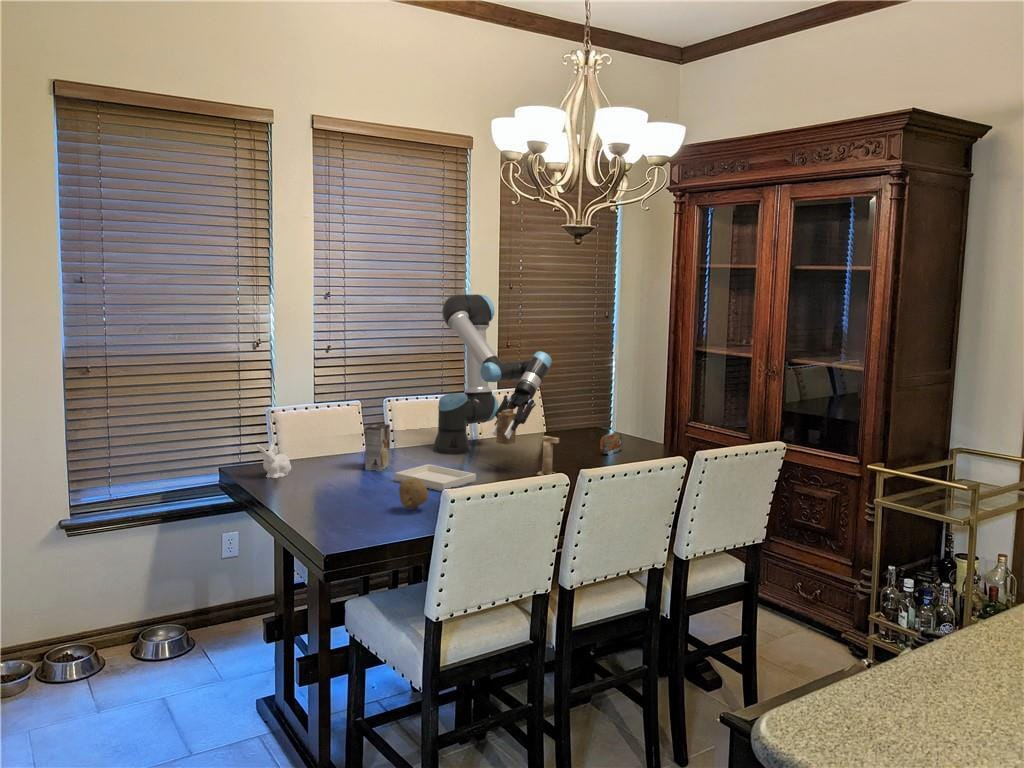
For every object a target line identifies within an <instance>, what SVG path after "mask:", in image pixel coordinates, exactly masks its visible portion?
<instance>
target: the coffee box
mask: <svg viewBox="0 0 1024 768" xmlns="http://www.w3.org/2000/svg"><path fill="white" fill-rule="evenodd" d="M390 428H391V427H390V424H386V423H385V424H384V423H373V424H371V425H368V426H366V427H365V432H364V433H365V437H364V439H365V442H364V443H365V449H364V450H365V455H364V458H365V461H364V462H365V464H364V469H365V471H371V470H376V471H375V472H382V471H384V470H385V469H387V468H388V467H390V443H391V442H390V434H391V433H390V431H391V430H390ZM386 467H387V468H386ZM383 469H384V470H383Z"/></svg>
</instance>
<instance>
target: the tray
mask: <svg viewBox="0 0 1024 768" xmlns="http://www.w3.org/2000/svg"><path fill="white" fill-rule="evenodd" d="M411 478H417V479H419V480H421V481H422V482H423V484H424V485H425V487H426V489H427V488H430V489H429V490H431V489H434V490H433V491H436V490H437V491H436V492H441V491H442V490H443V489H445V488H451V487H459V486H462V487H465V486H464V484H466V483H470V482H475V481H476V482H477V474H476V473H473V472H469V471H463V470H459V469H453V468H449V467H443V466H439V465H434V464H430V463H429V464H428V463H427V464H424V465H420V466H416V467H412V468H407V469H405V470H400V471H396V472H394V482H396V481H398V482H397V483H401V482H403V481H405V480H406V479H411ZM476 482H475V483H476ZM459 488H460V487H459ZM441 493H442V492H441Z"/></svg>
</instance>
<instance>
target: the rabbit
mask: <svg viewBox="0 0 1024 768" xmlns="http://www.w3.org/2000/svg"><path fill="white" fill-rule="evenodd" d="M256 446H257V450H258V452H261V453H262V454H263V459H262V460H263V465H262V466H263V469H264V470H265V472H267V474H266V476H265V478H266V477H267V478H266V479H274V478H275V479H278V478H284V477H286V476H288V475H289V473H290V472H291V469H292V465H291V462H290V459H289V457H288V456H287V454H284V453H277V454H275V452H274V451H273V450H275V449H274V448H275V446H274V444H273V441H270V445H269V446H268V451H267V450H266V449H265V448H264V447H262V446H260V444H258V443H257V444H256ZM270 477H271V478H270Z"/></svg>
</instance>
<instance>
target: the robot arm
mask: <svg viewBox="0 0 1024 768" xmlns="http://www.w3.org/2000/svg"><path fill="white" fill-rule="evenodd" d="M441 312H442V313H441V315H442V318H443V321H444V322H445V324H446V326H447V328H449V329H450V330H452V331H454V332H455V333H456V334H457V336H458V337H459V339H460V341H461V342H462V343H463V344H464V346H465V349H466V370H467V371H466V373H467V374H466V375H467V388H466V389H465V391H464V393H462V392H456V393H447V394H444V395H442V396H440V398H439V400H438V407H437V409H438V423H437V424H438V425H437V427H438V428H437V430H438V431H437V434H436V437H435V440H434V443H433V451H434V452H435V453H439V454H443V453H444V454H445V455H448V454H449V455H461V454H460V453H463V454H466V452H467V453H470V451H471V445H470V442H469V438H468V434H467V425H470V424H479V423H480V424H485V423H486V422H487V423H488V422H491V421H493V420H494V419H495V418H496V419H497V420H495V423H494V427H493V429H492V430H491V433H492V434H493V435H494V437H497V421H498V413H501V411H503V410H508V409H511V410H513V411H514V410H516V408H517V410H516V413H515V414H516V417H515V419H514V420H515V421H514V420H512V422H511V424H510V426H509V427H508V429H507V431H506V433H505V436H506V437H507V439H509V438H510V436H511V434H512V433H513V431H515V430H516V431H517V428H518V426H519V425H521V424H522V425H524V424H525V423H526V422H527V420H528V418H529V416H530V414H531V412H532V411H533V409H534V408H535V407H536V402H535V400H534V399H533V398H534V396H535V394H536V392H537V391H538V389H539V387H540V385H541V383H542V382H543V380H544V378H545V376H546V375H547V373H548V371H549V370H550V368H551V367H550V366H551V365H552V362H553V361H552V358H551V356H550V355H549V354H548V353H547V352H544V351H536V352H535V353H534V355H532V358H530V359H529V358H528V359H525V360H517V361H501V360H500V358H499V357H498V356H497V354H496V353H495V352H494V350H493V349H492V348H491V346H490V345H489V344H488V342H487V330H488V328H489V327H490V322H491V321H493V319H494V317H495V306H494V303H493V301H492V300H491V299H490V298H489V296H487V295H483V294H477V293H476V294H459V293H457V294H453V295H451V296H448V298H447V299H446V300H445V301H444V303H443V305H442V311H441ZM513 381H514V382H518V383H517V384H516V386H515V389H514V392H513V394H511V395H509V396H508V395H507V394H505V395H504V396H503V400H502V402H501V403H500V405H499V402H498V399H497V397H496V395H494V394H493V390H492V389H491V388H490V387H489V383H498V382H499V383H501V382H513Z"/></svg>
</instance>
